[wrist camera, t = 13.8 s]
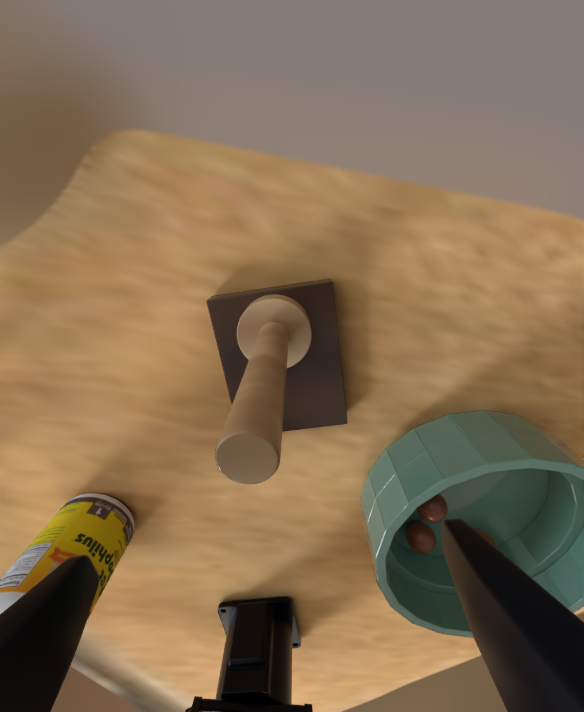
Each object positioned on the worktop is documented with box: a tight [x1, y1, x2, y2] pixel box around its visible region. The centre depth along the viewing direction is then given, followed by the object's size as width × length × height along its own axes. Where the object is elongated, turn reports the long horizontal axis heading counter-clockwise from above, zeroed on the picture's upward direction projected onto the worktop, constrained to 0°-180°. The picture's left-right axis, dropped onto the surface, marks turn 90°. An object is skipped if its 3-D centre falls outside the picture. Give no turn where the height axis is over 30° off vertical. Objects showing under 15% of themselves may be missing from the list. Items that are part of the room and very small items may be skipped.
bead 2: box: [406, 521, 436, 554], centre depth 23 cm, size 2×2×2 cm
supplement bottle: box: [0, 493, 135, 620], centre depth 20 cm, size 6×6×10 cm
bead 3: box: [474, 529, 497, 549], centre depth 23 cm, size 2×2×2 cm
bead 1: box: [417, 494, 448, 523], centre depth 22 cm, size 2×2×2 cm
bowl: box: [361, 410, 584, 638], centre depth 21 cm, size 14×14×6 cm
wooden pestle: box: [215, 294, 312, 484], centre depth 13 cm, size 4×4×11 cm
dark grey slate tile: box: [207, 279, 347, 432], centre depth 20 cm, size 9×7×1 cm
